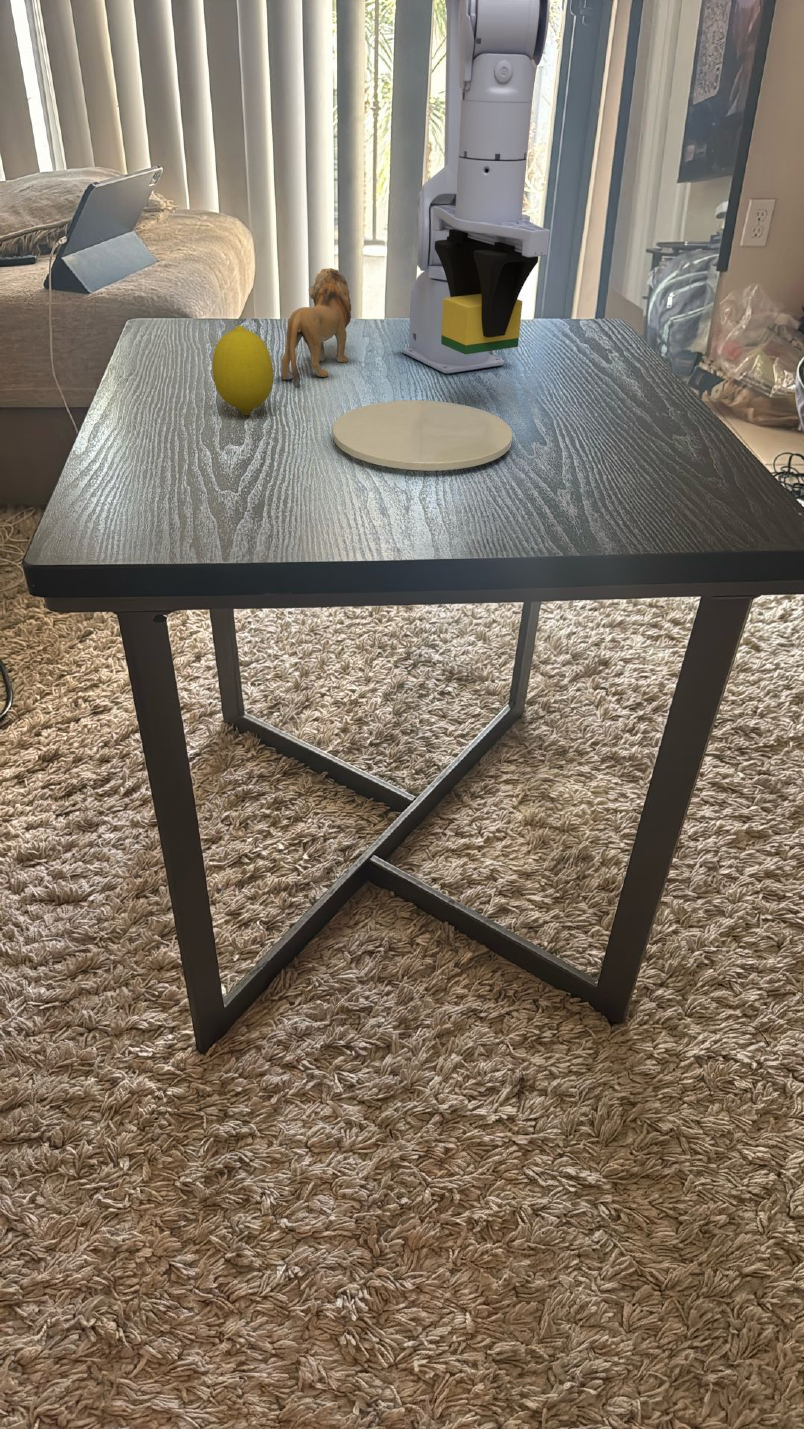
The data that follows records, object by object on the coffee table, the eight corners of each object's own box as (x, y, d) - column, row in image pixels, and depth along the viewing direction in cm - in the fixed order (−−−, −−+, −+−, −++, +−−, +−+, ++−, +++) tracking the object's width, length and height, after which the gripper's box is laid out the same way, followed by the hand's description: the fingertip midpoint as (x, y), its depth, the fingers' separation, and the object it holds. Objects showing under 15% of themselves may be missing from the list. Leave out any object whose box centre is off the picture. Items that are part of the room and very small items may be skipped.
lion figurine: (313, 348, 105) (311, 263, 100) (358, 352, 105) (358, 266, 99) (273, 386, 94) (268, 291, 88) (323, 390, 93) (321, 296, 88)
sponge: (440, 344, 85) (442, 298, 82) (492, 337, 87) (496, 291, 85) (465, 354, 82) (468, 307, 80) (518, 347, 85) (522, 301, 82)
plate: (302, 429, 84) (301, 415, 83) (447, 404, 91) (448, 391, 90) (390, 491, 73) (390, 475, 72) (547, 457, 80) (549, 443, 79)
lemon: (234, 402, 89) (226, 315, 85) (285, 410, 88) (280, 322, 83) (206, 419, 85) (196, 329, 80) (259, 428, 84) (253, 336, 79)
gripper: (586, 165, 73) (564, 343, 81) (481, 148, 82) (470, 308, 90) (516, 168, 69) (500, 353, 78) (415, 150, 79) (410, 315, 87)
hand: (480, 330), depth 84 cm, fingers closed on sponge, 4 cm apart
